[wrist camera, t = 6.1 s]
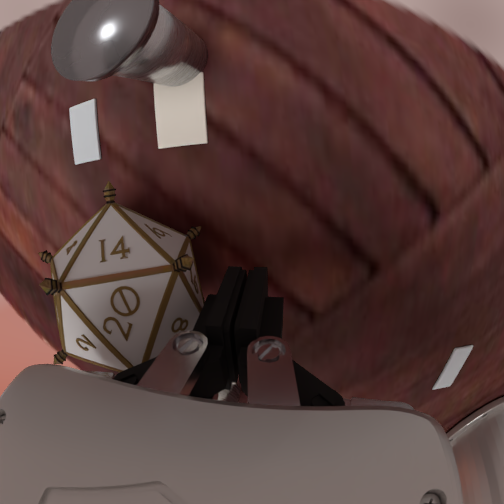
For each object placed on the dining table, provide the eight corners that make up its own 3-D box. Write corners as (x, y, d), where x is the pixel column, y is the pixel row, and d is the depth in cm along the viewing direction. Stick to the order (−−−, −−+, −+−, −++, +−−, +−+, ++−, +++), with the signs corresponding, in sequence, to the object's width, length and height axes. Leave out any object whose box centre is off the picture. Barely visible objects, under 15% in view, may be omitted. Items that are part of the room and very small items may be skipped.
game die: (170, 200, 18) (65, 119, 8) (274, 283, 15) (224, 252, 6) (98, 304, 17) (-24, 295, 8) (182, 394, 15) (69, 463, 6)
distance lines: (526, 116, 8) (528, 116, 8) (449, 384, 18) (450, 386, 18) (71, 107, 12) (69, 108, 12) (146, 383, 21) (145, 384, 21)
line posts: (212, 20, 9) (153, -43, 4) (245, 402, 20) (232, 472, 15) (144, 36, 10) (56, 3, 4) (203, 398, 21) (183, 464, 15)
